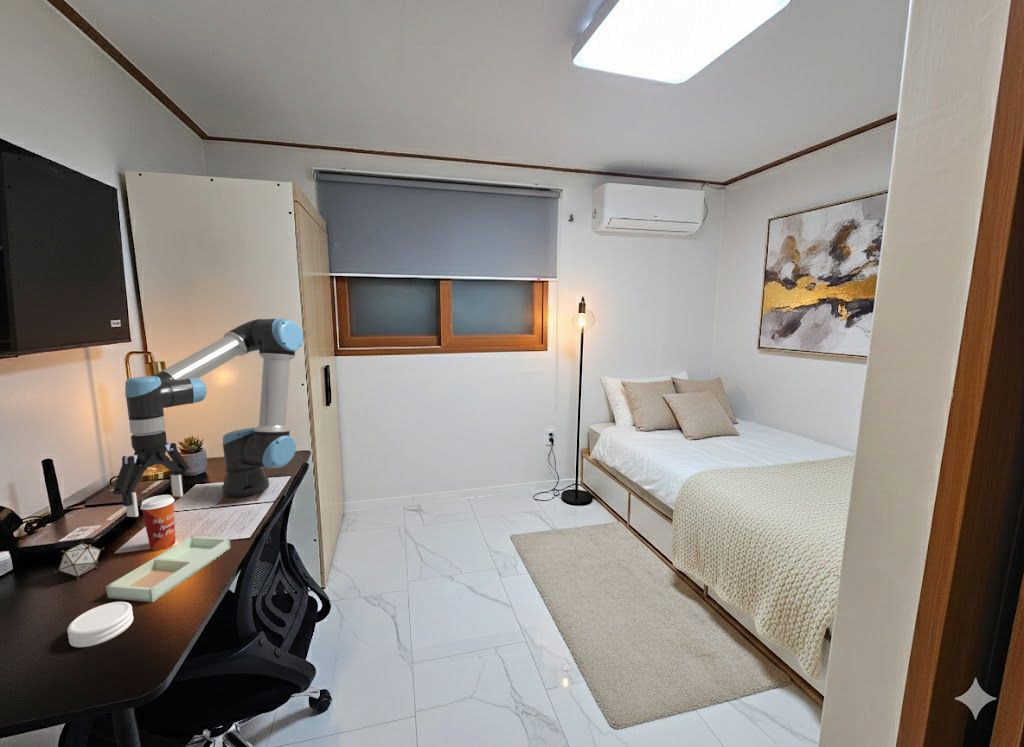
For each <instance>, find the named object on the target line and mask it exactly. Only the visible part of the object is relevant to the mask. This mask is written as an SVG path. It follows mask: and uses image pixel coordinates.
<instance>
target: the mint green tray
mask: <svg viewBox="0 0 1024 747" xmlns="http://www.w3.org/2000/svg"><path fill="white" fill-rule="evenodd" d="M230 548H231V549H232V546H231V539H230V538H227V537H226V538H225V537H212V536H211V537H209V536H195V535H194V536H193V535H191V536H190V537H188V538H187V539H185V540H183V541H181V542H180V543H178V544H176V545H173V546H171V547H170V548H168V550H165V551H164V552H162V553H161V554H159V555H157V556H156V557H154V558H151V560H149V561H146V563H143V564H141V565H140V566H138V567H137V568H134V569H133V570H132V571H130V572H128V573H126V574H124V575H123V576H121V577H119V578H118V579H116V580H114V581H112V582H111V583H109V584H107V585H106V586H105V590H106V596H107V599H112V600H113V599H116V600H124V601H125V600H126V601H134V602H135V601H137V602H146V603H154V602H156V601H157V600H159V598H161V597H162V596H164V595H166V594H167V593H168V592H171V591H172V590H173V589H174V588H176V587H177V586H178V585H180V584H181V583H183V582H185V581H186V580H188V578H191V577H192V576H193V575H194V574H196V573H197V572H199V571H200V570H202V569H203V568H205V567H206V566H208V565H209V564H211V563H213V562H214V561H215V560H217V559H218V558H219V557H221V556H222V555H224V554H225V553H226V551H227V550H228V551H230V550H231V549H230ZM229 549H230V550H229ZM228 551H227V552H228ZM224 552H225V553H224ZM223 553H224V554H223ZM220 555H221V556H220ZM217 557H218V558H217ZM216 558H217V559H216ZM213 560H214V561H213Z"/></svg>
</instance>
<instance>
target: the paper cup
mask: <svg viewBox="0 0 1024 747" xmlns="http://www.w3.org/2000/svg"><path fill="white" fill-rule="evenodd" d="M174 503H175V498H174V496H173V495H171V494H161V495H156V496H151V497H148V498H146V499H144V500H143V501H142V502H141V505H140V507H139V509H140V510H141V511H142V516H143V520H144V526H145V531H146V534H147V535H146V536H147V539H148V543H149V548H150V550H151V549H152V550H151V551H153V550H158V551H161V550H160V549H163V550H166V549H168V548H167V547H169V548H171V547H173V546H174V545H175V544H176V525H175V523H176V522H175V509H174V508H175V504H174ZM174 543H175V544H174ZM173 544H174V545H173ZM172 545H173V546H172ZM170 546H171V547H170ZM165 548H166V549H165Z"/></svg>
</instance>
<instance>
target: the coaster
mask: <svg viewBox="0 0 1024 747" xmlns="http://www.w3.org/2000/svg"><path fill="white" fill-rule="evenodd" d="M133 614H134V612H133V606H132V604H131V603H129V602H126V601H113V602H109V603H104V604H101V605H99V606H95V607H93V608H91V609H89V610H87V611H85V612H83V613H81V614H80V615H78V616H77V617H76V618H75V619H74V620H72V621H71V622H70V624H68V627H67V628H66V629H67V630H66V631H67V638H68V643H69V644H70V646H72V647H74V648H88V647H92V646H96V645H99V644H102V643H105V642H107V641H110V640H112V639H113V638H116V637H117V636H119V635H120V634H122V633H124V632H125V631H126V630H127V629H128V628H129V627H130V626H131V624H132V623H133V622H134V615H133Z"/></svg>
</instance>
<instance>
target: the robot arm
mask: <svg viewBox="0 0 1024 747" xmlns="http://www.w3.org/2000/svg"><path fill="white" fill-rule="evenodd" d="M303 343H304V334H303V331H302V328H301V327H300V326H299V324H298V323H297V322H296V321H294V320H292V319H290V318H289V319H288V318H264V319H263V318H256V319H252V320H250V321H247V322H245V323H243V324H240V325H239V326H236V327H234V328H233V329H231V330H229V331H227V332H225V333H224V335H223V338H220V339H219V340H217V341H215V342H213V343H211V344H209V345H208V346H205V347H203V348H201V349H200V350H198V351H196V352H195V353H193V354H191V355H189V356H187V357H186V358H183V359H182V360H179V361H177V362H176V363H174V364H172V365H170V366H168V367H166V368H165V369H163V370H161V371H159V372H157V373H155V374H153V375H150V376H149V375H148V376H146V375H145V376H136V377H130V378H128V379H126V380H125V381H124V382H125V383H124V384H125V387H124V389H125V395H124V396H125V398H126V400H125V401H126V406H127V415H128V422H129V425H128V426H129V430H130V431H129V432H130V434H131V435H130V440H131V448H132V449H133V450H134V453H133V455H124V456H123V455H122V457H121V462H122V463H121V468H120V469H119V470H120V471H119V473H118V476H117V479H116V481H115V485H114V488H113V491H112V494H113V495H120V496H121V498H122V505H123V506H124V507H125V509H126V517H131V518H137V517H139V507H138V499H137V498H138V497H137V492H134V490H135V489H136V486H137V485H138V483H139V482H140V480H141V478H142V476H143V474H144V472H145V471H147V470H148V468H150V467H154V465H159V464H161V465H162V466H163V467H165V468H166V469H167V470H169V471H170V472H171V473H172V474H171V475H170V484H171V492H172V497H175V498H176V497H177V498H178V497H179V498H180V497H181V498H182V497H183V496H184V491H183V484H184V478H183V477H184V476H183V475H186V473H187V472H186V471H187V470H189V467H190V466H189V465H188V464H187V462H186V460H185V459H184V458H183V456H182V455H181V453H180V452H179V450H178V447H177V443H175V442H168V440H167V433H166V431H165V429H166V424H165V423H166V422H165V414H164V409H167V408H171V407H178V406H184V405H185V406H186V405H189V404H191V405H193V404H196V403H199V402H202V401H203V400H204V399H205V398H206V396H207V392H208V390H207V385H206V384H205V382H204V381H203V380H202V379H200V378H202V377H203V376H205V375H207V374H209V373H210V372H212V371H213V370H215V369H217V368H219V367H220V366H222V365H224V364H226V363H227V362H229V361H230V360H232V359H234V358H235V357H237V356H240V357H243V356H245V355H247V354H248V353H252V352H256V351H258V352H259V353H258V354H259V356H260V357H261V358H262V360H263V361H262V362H263V364H262V373H261V374H262V376H261V378H262V380H261V390H260V391H261V392H260V405H259V408H260V409H259V418H258V426H256V427H248V428H247V427H246V428H241V429H238V430H233V431H230V432H227V433H225V434H224V435H222V449H223V456H224V457H223V458H224V465H225V472H226V473H225V476H224V480H223V485H222V495H223V497H226V498H242V497H249V496H252V495H253V496H254V495H257V494H259V493H261V492H263V491H265V490H267V489H268V488H269V487H270V480H269V478H268V477H267V475H266V473H265V472H266V471H265V470H264V468H268V469H279V468H282V467H284V466H286V465H287V464H289V463H290V461H292V459H293V458H294V456H295V453H296V450H297V444H296V441H295V440H294V438H293V437H291V436H290V433H291V432H290V431H291V430H290V428H289V427H288V426H287V425H286V422H287V408H288V396H289V395H288V392H289V381H290V379H289V377H290V365H291V360H293V359H294V358H295V357H296V351H298V350H300V348H301V347H302V346H303ZM166 453H167V454H168V455H166Z"/></svg>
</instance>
